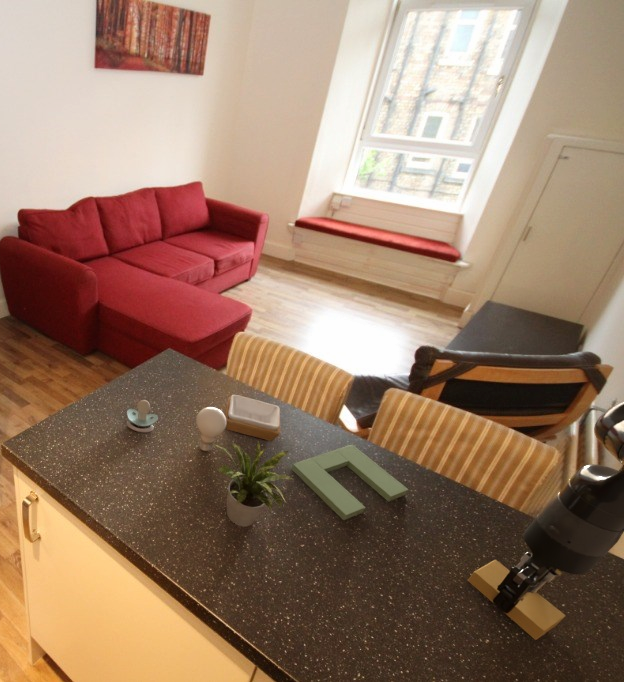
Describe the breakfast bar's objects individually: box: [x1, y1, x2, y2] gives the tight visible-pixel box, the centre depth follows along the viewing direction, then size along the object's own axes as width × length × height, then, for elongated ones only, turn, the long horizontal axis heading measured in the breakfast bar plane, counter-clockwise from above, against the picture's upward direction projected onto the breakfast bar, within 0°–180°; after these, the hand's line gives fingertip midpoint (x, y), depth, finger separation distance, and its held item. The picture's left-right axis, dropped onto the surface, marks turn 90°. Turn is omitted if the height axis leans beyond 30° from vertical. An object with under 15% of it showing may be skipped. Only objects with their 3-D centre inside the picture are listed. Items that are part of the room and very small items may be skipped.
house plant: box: [211, 440, 294, 528], centre depth 80 cm, size 14×14×16 cm
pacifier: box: [126, 399, 159, 433], centre depth 103 cm, size 7×6×6 cm
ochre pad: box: [467, 559, 566, 641], centre depth 71 cm, size 6×10×2 cm, turn 24°
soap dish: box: [224, 394, 281, 442], centre depth 106 cm, size 12×10×5 cm
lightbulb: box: [195, 406, 227, 452], centre depth 96 cm, size 6×6×11 cm
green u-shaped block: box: [290, 444, 409, 521], centre depth 93 cm, size 18×14×2 cm
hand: (512, 599), depth 72 cm, fingers closed on ochre pad, 6 cm apart
